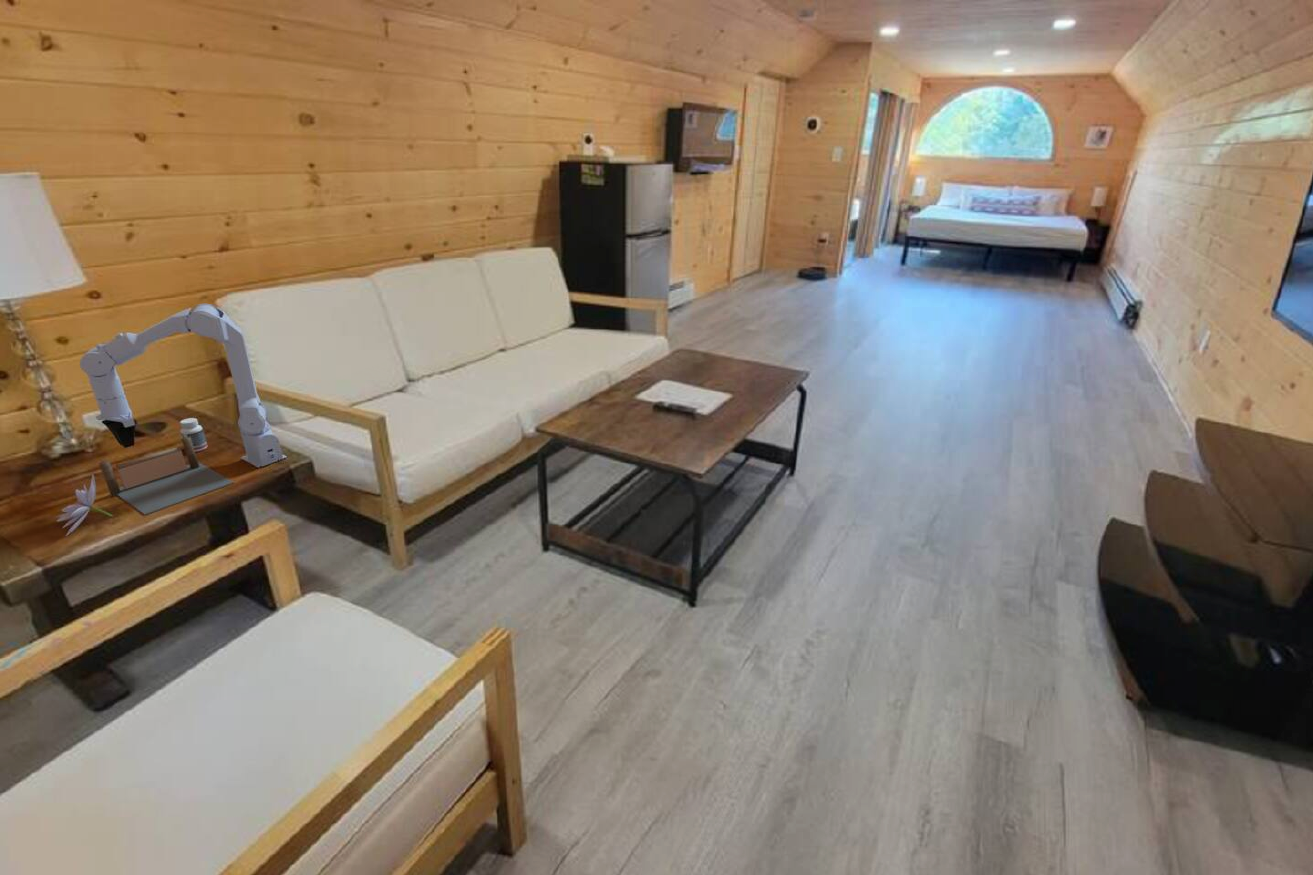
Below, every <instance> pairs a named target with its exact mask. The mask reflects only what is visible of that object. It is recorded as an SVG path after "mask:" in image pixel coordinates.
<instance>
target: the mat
mask: <svg viewBox="0 0 1313 875" xmlns="http://www.w3.org/2000/svg"><path fill="white" fill-rule="evenodd" d="M198 464H199V468H196V469H191V468H190V465H189V464H186V466H187V469H186V470H183V471H180V472H176V473H173V474H170V475H167V476H164V477H161V478H158V479H155V480H152V481H149V482H146V483H143V484H140V485H137V486H134V487H131V488H128V489H125V488H123V485H122V486H119V489H120V491H121V493H120V494H117V495H118V497H119V498H121V499H122V500H123V501H124V502H126V503H127V504H129V505H130V506H132V507H133V508H134V509H136V511H138V512H140V513H141V514H143V515H144V516H147V515H150V514H153V513H156V512H159V511H161V510H165V509H167V508H169V507H172V506H175V505H177V504H181V503H184V502H186V501H189V500H191V499H195V498H198V497H200V496H203V495H207V494H208V493H211V492H214V491H217V490H219V489H223V488H224V487H227V486H230V485H233V484H235V483H234V481H233V480H230V479H229V478H227V477H226V476H224V475H222V474H220V473H218V472H216V471H215V470H213V469H211V468H210V467H208V466H206V465H204V464H202V463H201V462H199V461H198Z"/></svg>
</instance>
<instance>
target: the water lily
mask: <svg viewBox="0 0 1313 875" xmlns="http://www.w3.org/2000/svg"><path fill="white" fill-rule="evenodd" d="M75 495H76V499H77V502H76V503H75V504H72V505H71V504H70V505H68V506H66V507H64V508H62V509H61V512H62V514H60V515H57V516H56V518H58V519H57V520H56V521H55V522H62V521H66V520H69V521H68V522H67V523H66V524H64V525H63V527H62V529H64V528H66V527H67V526H70V525H71V524H73V523H74V524H73V525H72V526H71V527H70V529H68V531H67V533H66V535H65V537H67V536H68V535H70V534H71V533H73V532H74V531H75V530H76V529H77V527H78V526H79V525H80V524H81V523H82V522H83V521H84V519H85V518H86V517H87V515H88V514H89V511H90V510H93V511H96V512H98V513H101V514H103V515H104V516H105V515H106V517H109V518H112V517H113V516H114V515H113V514H111V513H109V512H107V511H105V510H102V509H100V508H97V507H94V506H93V504H94V502H95V499H96V495H97V484H96V479H95V475H94V473H92V476H91V481H90V486H89V489H88V488H87V486H86V485H85V484H83V489H81V490H80V489H75ZM63 512H64V513H63ZM59 517H60V518H59Z"/></svg>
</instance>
